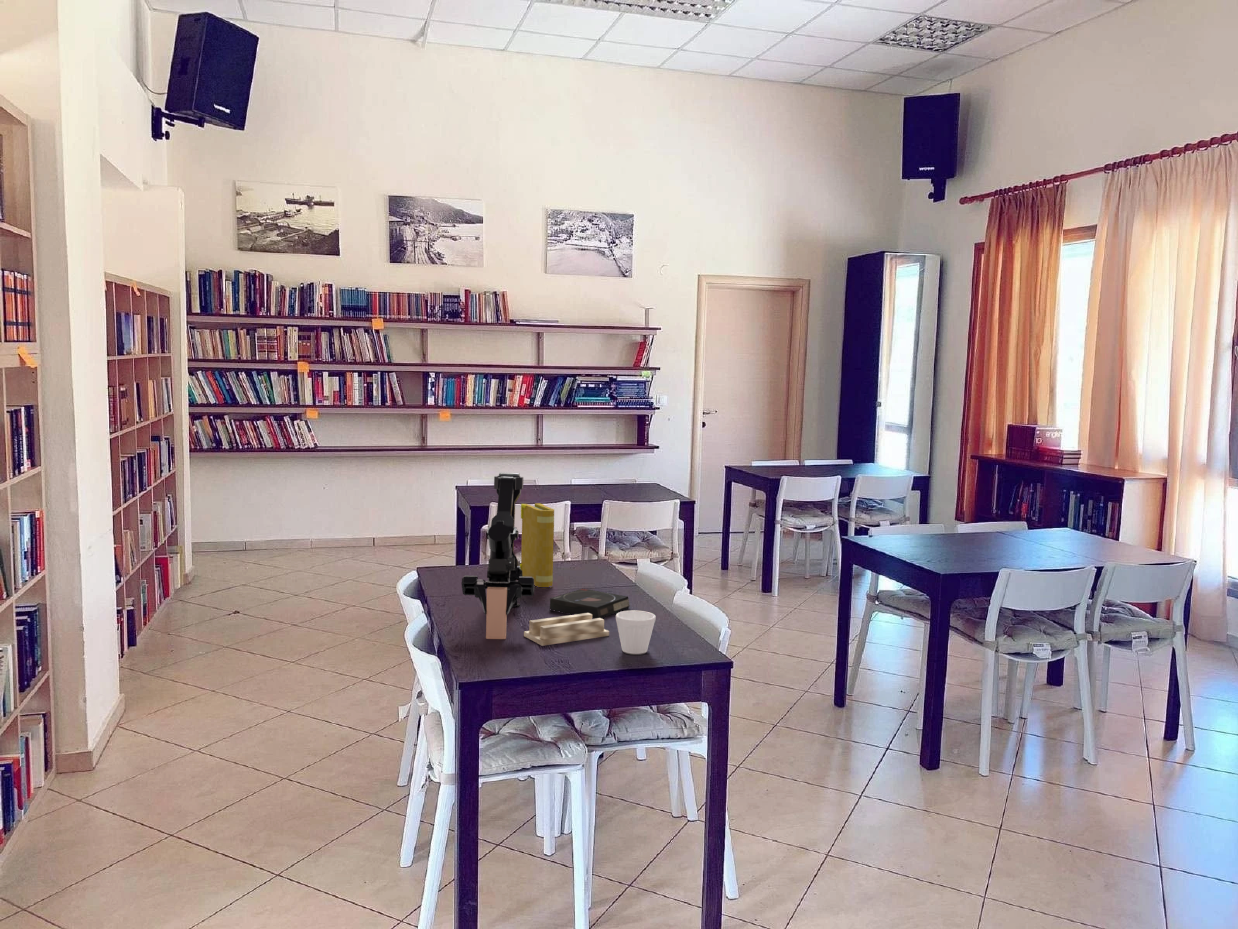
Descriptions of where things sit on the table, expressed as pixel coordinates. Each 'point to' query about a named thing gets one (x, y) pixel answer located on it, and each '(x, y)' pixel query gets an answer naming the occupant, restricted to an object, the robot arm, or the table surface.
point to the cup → (635, 630)
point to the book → (537, 543)
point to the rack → (565, 629)
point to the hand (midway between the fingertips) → (496, 614)
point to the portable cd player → (589, 603)
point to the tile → (496, 613)
